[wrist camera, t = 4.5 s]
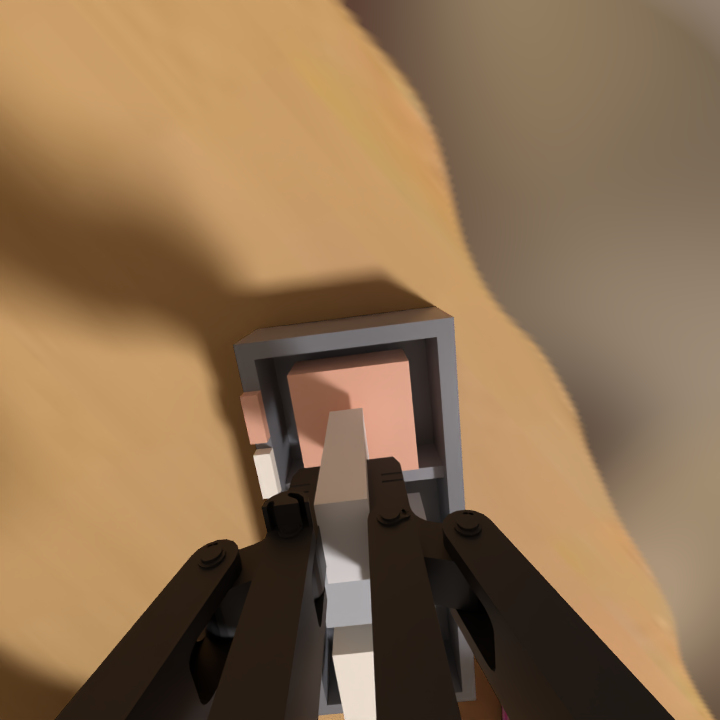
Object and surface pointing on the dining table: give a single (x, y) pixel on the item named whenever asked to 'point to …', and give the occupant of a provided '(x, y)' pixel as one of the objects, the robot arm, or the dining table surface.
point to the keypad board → (431, 418)
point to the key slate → (357, 590)
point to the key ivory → (355, 670)
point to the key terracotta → (356, 403)
